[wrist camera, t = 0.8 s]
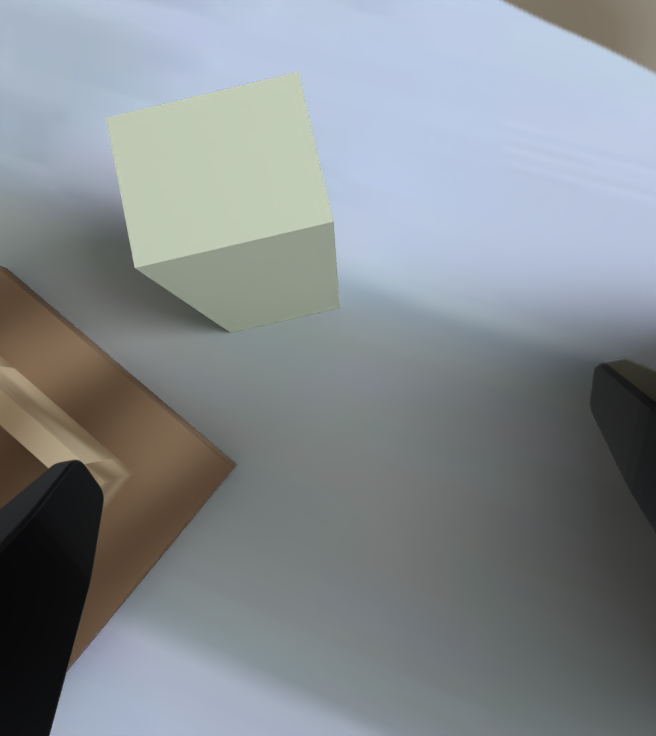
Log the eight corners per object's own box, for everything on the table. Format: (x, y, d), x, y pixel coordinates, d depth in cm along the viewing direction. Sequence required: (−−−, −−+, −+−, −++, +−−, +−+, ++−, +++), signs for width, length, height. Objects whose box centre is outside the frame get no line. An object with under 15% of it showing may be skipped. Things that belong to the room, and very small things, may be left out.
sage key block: (339, 307, 22) (333, 221, 12) (230, 332, 22) (134, 268, 12) (320, 223, 22) (298, 71, 12) (213, 248, 22) (105, 117, 12)
